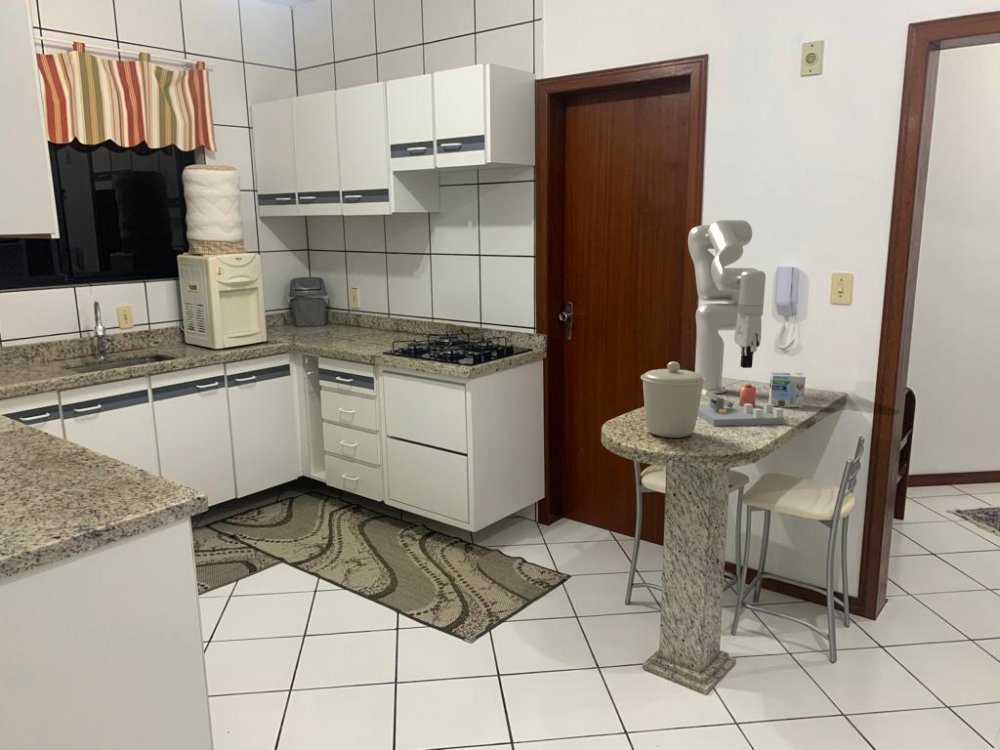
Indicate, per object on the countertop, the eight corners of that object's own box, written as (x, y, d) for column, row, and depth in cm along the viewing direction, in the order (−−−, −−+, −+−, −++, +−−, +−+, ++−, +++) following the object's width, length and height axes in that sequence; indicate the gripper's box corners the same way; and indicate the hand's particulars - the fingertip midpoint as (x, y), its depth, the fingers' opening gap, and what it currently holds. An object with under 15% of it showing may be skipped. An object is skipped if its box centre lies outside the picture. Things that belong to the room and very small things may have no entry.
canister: (709, 430, 225) (714, 360, 221) (691, 445, 209) (695, 369, 205) (650, 422, 234) (653, 354, 230) (629, 436, 218) (631, 363, 214)
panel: (690, 411, 248) (691, 392, 247) (754, 409, 251) (756, 391, 250) (713, 426, 230) (715, 406, 229) (783, 424, 233) (784, 404, 232)
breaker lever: (700, 393, 243) (702, 388, 242) (726, 405, 245) (729, 401, 244) (705, 395, 239) (707, 390, 239) (731, 408, 241) (734, 403, 241)
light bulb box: (769, 406, 255) (772, 374, 253) (767, 402, 262) (770, 371, 260) (803, 408, 253) (806, 376, 251) (801, 404, 259) (803, 372, 257)
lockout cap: (736, 403, 250) (738, 383, 249) (750, 403, 250) (752, 383, 249) (743, 407, 245) (744, 386, 244) (757, 406, 246) (758, 386, 245)
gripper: (729, 307, 248) (725, 362, 252) (748, 313, 233) (744, 372, 237) (752, 307, 249) (747, 362, 253) (772, 313, 234) (767, 372, 238)
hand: (746, 367), depth 245 cm, fingers closed
